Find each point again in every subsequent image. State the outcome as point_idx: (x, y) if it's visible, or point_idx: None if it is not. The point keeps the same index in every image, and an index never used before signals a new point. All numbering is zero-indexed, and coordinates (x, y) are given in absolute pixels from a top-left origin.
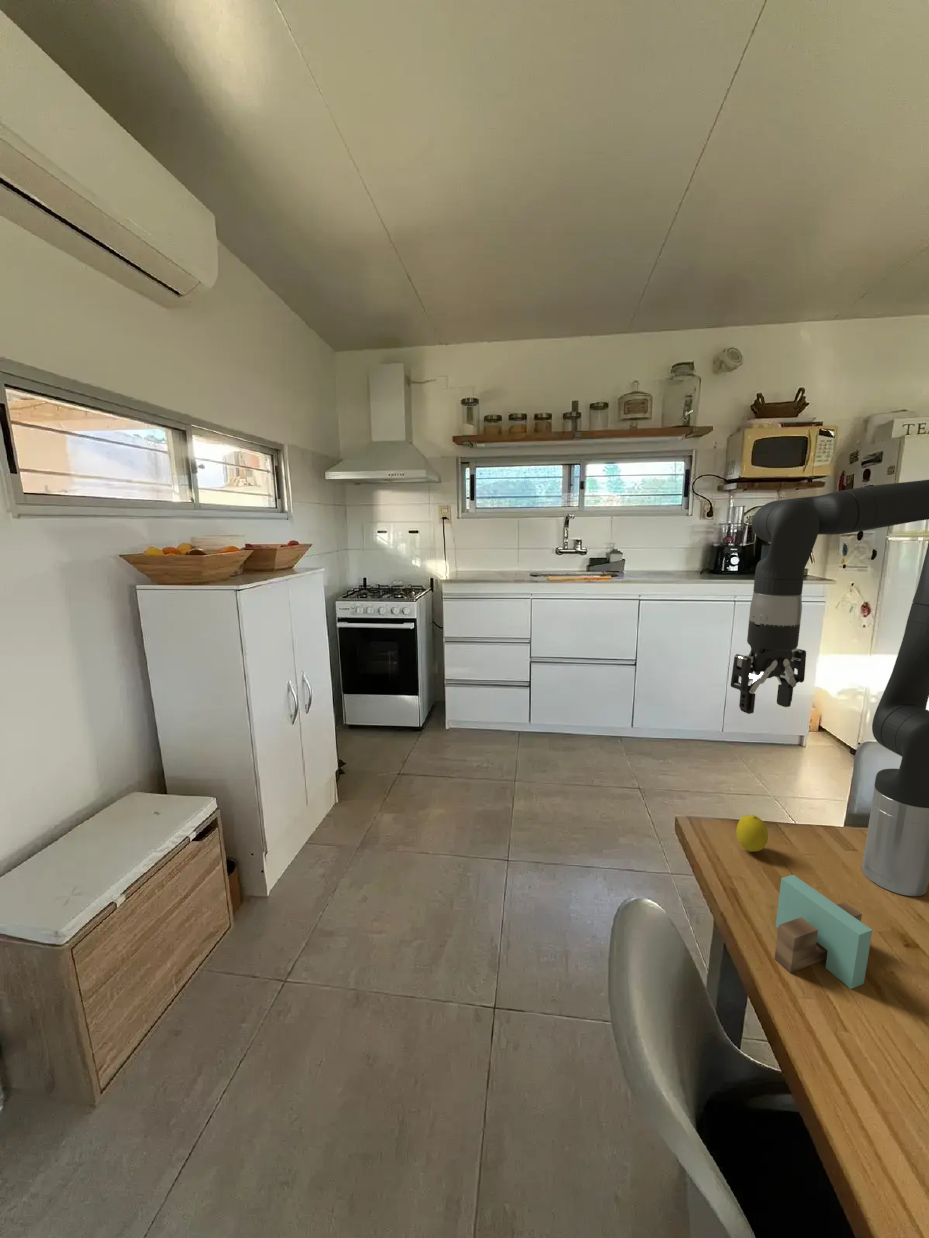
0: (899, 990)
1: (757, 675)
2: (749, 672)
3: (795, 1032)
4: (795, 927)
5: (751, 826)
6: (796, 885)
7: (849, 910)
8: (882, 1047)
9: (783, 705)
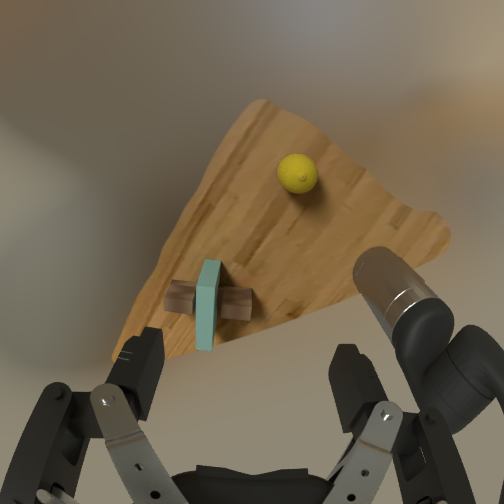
0: (235, 330)
1: (196, 466)
2: (74, 489)
3: (138, 315)
4: (175, 305)
5: (287, 182)
6: (201, 298)
7: (243, 314)
8: (180, 341)
9: (332, 364)
